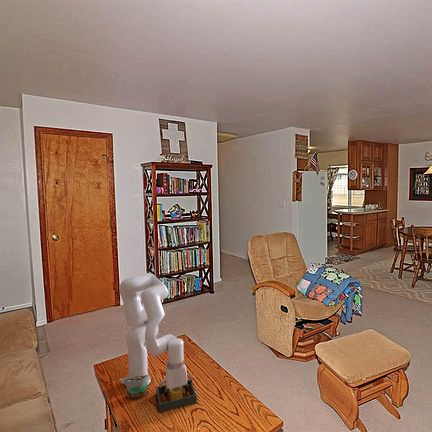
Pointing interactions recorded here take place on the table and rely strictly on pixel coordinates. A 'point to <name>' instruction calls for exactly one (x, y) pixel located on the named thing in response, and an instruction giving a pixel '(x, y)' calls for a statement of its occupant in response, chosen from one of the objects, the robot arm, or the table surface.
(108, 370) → the table surface
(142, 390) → the food container
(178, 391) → the tape roll
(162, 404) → the dark green rectangular frame
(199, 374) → the table surface
